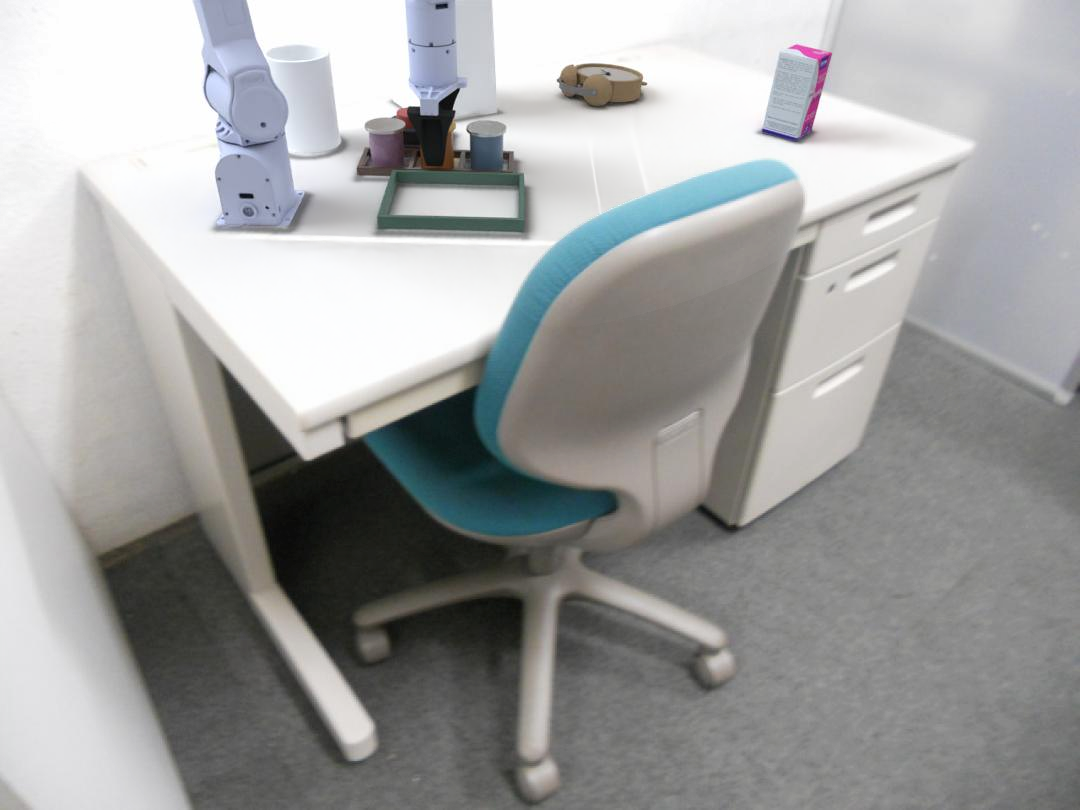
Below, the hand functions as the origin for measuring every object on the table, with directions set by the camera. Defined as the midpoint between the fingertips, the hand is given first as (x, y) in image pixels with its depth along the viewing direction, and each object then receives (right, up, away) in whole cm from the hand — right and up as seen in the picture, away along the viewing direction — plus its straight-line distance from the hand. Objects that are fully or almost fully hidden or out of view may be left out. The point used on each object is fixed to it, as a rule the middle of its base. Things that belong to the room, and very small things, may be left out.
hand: (437, 153), depth 105 cm
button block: (-4, +4, +8) cm, 10 cm away
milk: (-1, +13, +21) cm, 25 cm away
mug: (-19, +4, +8) cm, 21 cm away
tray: (+3, -9, -8) cm, 12 cm away
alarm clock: (+22, +17, +27) cm, 39 cm away
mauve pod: (-6, -1, +1) cm, 7 cm away
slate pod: (+6, -2, +1) cm, 7 cm away
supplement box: (+50, +8, +17) cm, 53 cm away
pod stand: (0, -2, +1) cm, 2 cm away
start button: (-4, +6, +6) cm, 9 cm away
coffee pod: (0, -1, +1) cm, 2 cm away
